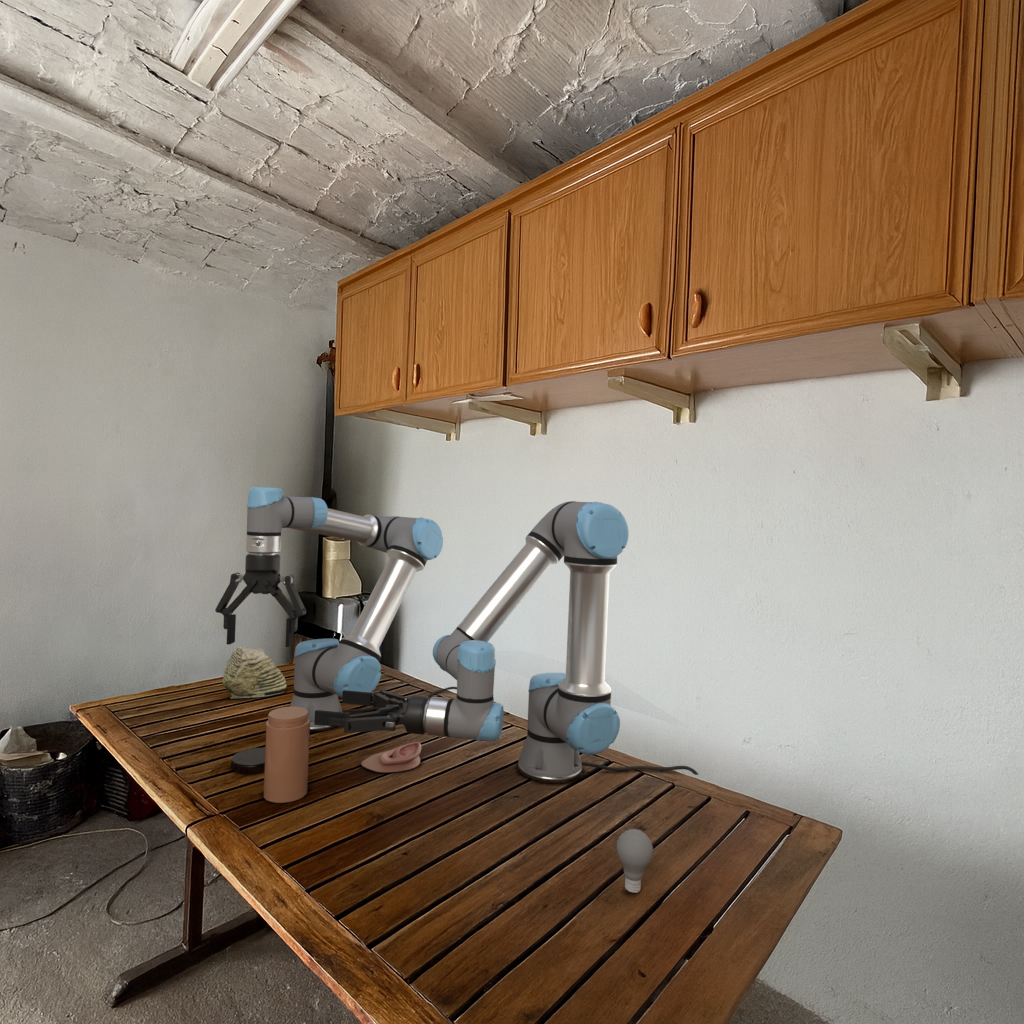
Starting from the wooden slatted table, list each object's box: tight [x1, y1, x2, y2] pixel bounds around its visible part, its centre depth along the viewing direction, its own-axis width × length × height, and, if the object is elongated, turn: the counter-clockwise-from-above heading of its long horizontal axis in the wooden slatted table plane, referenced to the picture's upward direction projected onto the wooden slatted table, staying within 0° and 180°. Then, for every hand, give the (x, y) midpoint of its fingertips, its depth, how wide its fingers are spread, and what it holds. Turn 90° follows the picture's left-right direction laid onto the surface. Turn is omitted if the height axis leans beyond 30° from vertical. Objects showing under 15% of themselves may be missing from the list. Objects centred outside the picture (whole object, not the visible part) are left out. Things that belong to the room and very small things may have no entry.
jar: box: [262, 706, 311, 804], centre depth 135 cm, size 9×9×17 cm
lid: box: [230, 747, 265, 775], centre depth 148 cm, size 10×10×2 cm
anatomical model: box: [360, 741, 422, 773], centre depth 152 cm, size 13×4×12 cm
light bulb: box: [615, 828, 654, 894], centre depth 106 cm, size 6×6×10 cm
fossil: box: [222, 646, 288, 699], centre depth 198 cm, size 9×18×15 cm, turn 132°
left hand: (259, 644), depth 147 cm, fingers open, 13 cm apart
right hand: (329, 706), depth 133 cm, fingers open, 13 cm apart
